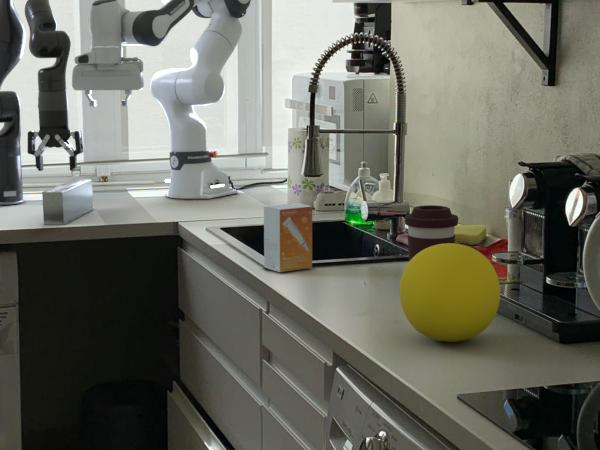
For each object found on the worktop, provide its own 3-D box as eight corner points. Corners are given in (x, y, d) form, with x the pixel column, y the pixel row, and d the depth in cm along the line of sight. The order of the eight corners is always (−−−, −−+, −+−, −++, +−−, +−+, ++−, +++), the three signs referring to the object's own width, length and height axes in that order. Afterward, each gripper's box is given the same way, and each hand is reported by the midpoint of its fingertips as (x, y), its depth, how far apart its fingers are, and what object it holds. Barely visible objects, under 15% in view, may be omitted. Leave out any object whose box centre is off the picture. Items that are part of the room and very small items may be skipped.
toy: (466, 322, 171) (468, 232, 169) (517, 346, 157) (519, 249, 155) (383, 332, 166) (383, 239, 164) (428, 358, 152) (429, 257, 150)
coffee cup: (400, 280, 202) (400, 204, 200) (450, 279, 203) (451, 203, 201) (409, 292, 193) (410, 212, 190) (462, 291, 193) (463, 211, 191)
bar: (63, 224, 273) (62, 192, 271) (43, 224, 273) (42, 192, 272) (93, 209, 299) (91, 179, 297) (74, 209, 299) (73, 179, 298)
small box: (280, 273, 210) (279, 209, 208) (263, 267, 216) (262, 205, 213) (313, 268, 215) (312, 205, 213) (296, 263, 220) (295, 202, 218)
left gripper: (84, 107, 275) (87, 168, 277) (31, 108, 276) (35, 169, 279) (75, 109, 267) (78, 172, 270) (21, 109, 269) (25, 172, 271)
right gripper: (145, 56, 298) (147, 105, 300) (75, 57, 300) (78, 106, 303) (140, 57, 292) (141, 106, 294) (68, 57, 294) (71, 107, 296)
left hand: (56, 170), depth 274 cm, fingers open, 8 cm apart
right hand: (108, 106), depth 298 cm, fingers open, 8 cm apart
